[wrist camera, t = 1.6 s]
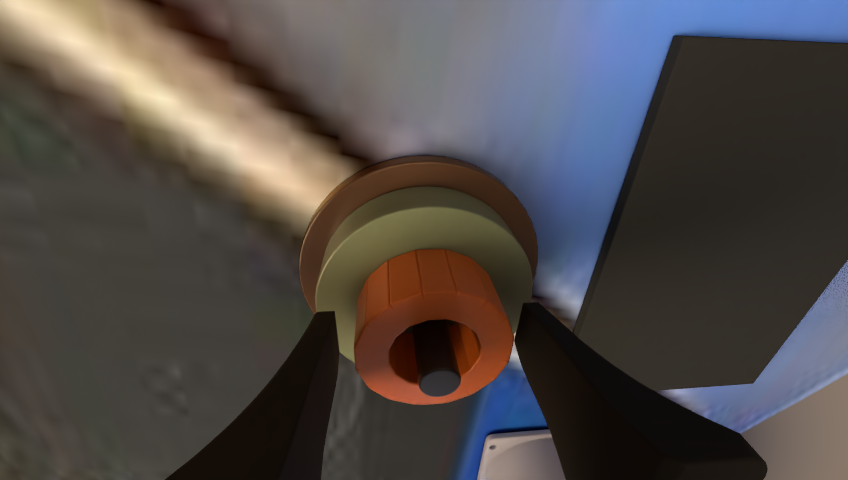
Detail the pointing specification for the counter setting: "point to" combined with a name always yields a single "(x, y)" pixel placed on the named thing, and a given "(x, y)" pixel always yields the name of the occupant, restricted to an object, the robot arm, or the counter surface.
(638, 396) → the robot arm
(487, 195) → the ring stand
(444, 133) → the counter surface
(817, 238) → the mat
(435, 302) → the ring
